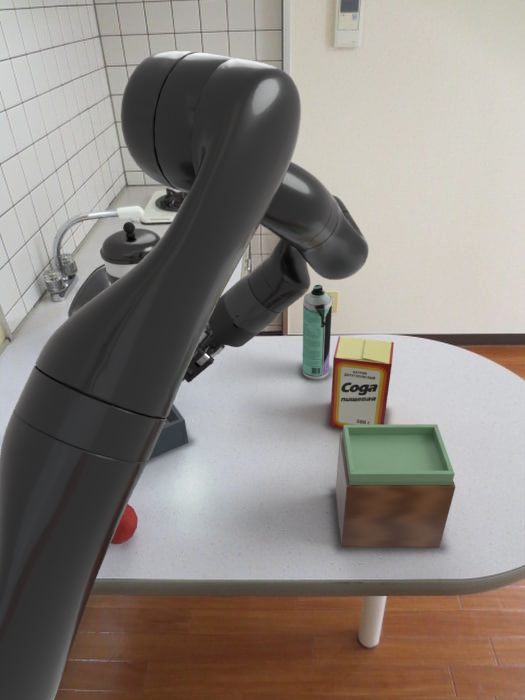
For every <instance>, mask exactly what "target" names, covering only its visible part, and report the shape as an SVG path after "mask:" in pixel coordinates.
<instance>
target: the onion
mask: <svg viewBox="0 0 525 700" xmlns="http://www.w3.org/2000/svg"><path fill="white" fill-rule="evenodd" d="M138 519H139V518H138V515H137V513H136V511H135V509H134V507H133V506H131V505H130V504H129V503H128V504H127V506H126V508H125V510H124V513H123V515H122V517H121V520H120V522H119V524H118V527H117V529H116V531H115V534H114V536H113V538H112V541H111V543H110V545H120V544H121V545H122V544H123V543H125V542H128V541H130V540H131V538H132V537H133V536H134V534H135V532H136V530H137V528H138V521H139V520H138Z"/></svg>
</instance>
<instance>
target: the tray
mask: <svg viewBox="0 0 525 700" xmlns="http://www.w3.org/2000/svg"><path fill="white" fill-rule="evenodd" d="M342 434H343V441H344V449H345V456H346V463H347V471H348V478H349V485H452V482H453V481H454V478H455V470H454V468H453V465H452V463H451V460H450V456H449V454H448V451H447V448H446V445H445V443H444V439H443V438H442V437H443V436H442V434H441V432H440V428H439V426H438V424H437V423H433V424H432V423H424V424H422V423H421V424H418V423H417V424H415V423H412V424H410V423H408V424H404V423H403V424H402V423H401V424H400V423H399V424H384V425H343V428H342Z"/></svg>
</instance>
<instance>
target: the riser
mask: <svg viewBox="0 0 525 700" xmlns="http://www.w3.org/2000/svg"><path fill="white" fill-rule="evenodd" d="M337 451H338V454H337V468H336V481H335V501H336V509H337V519H338V528H339V536H340V537H339V538H340V539H339V540H340V547H341V548H440V547H441V543H442V539H443V536H444V532H445V528H446V526H447V525H446V524H447V521H448V517H449V513H450V510H451V507H452V503H453V498H454V494H455V491H456V484H455V481H454V480H453V482H452V485H349V478H348V471H347V463H346V456H345V449H344V441H343V433H340V434H339V436H338V450H337Z"/></svg>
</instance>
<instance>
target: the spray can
mask: <svg viewBox="0 0 525 700" xmlns="http://www.w3.org/2000/svg"><path fill="white" fill-rule="evenodd" d="M332 299H333V298H332V295H331V294H330V293H327V292H326V291H325V290H324V289H323V285H321V284H316V285H315V284H314V286H313V288H312V290H311V291H310V292H307V293H305V294H304V295H303V301H302V374H303V375H304V376H305V378H307V379H309V380H310V379H311V380H322V379H324V378H327V376H328V375H329V373H330V353H331V351H330V350H331V333H332V332H331V331H332V313H333V300H332Z"/></svg>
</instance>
